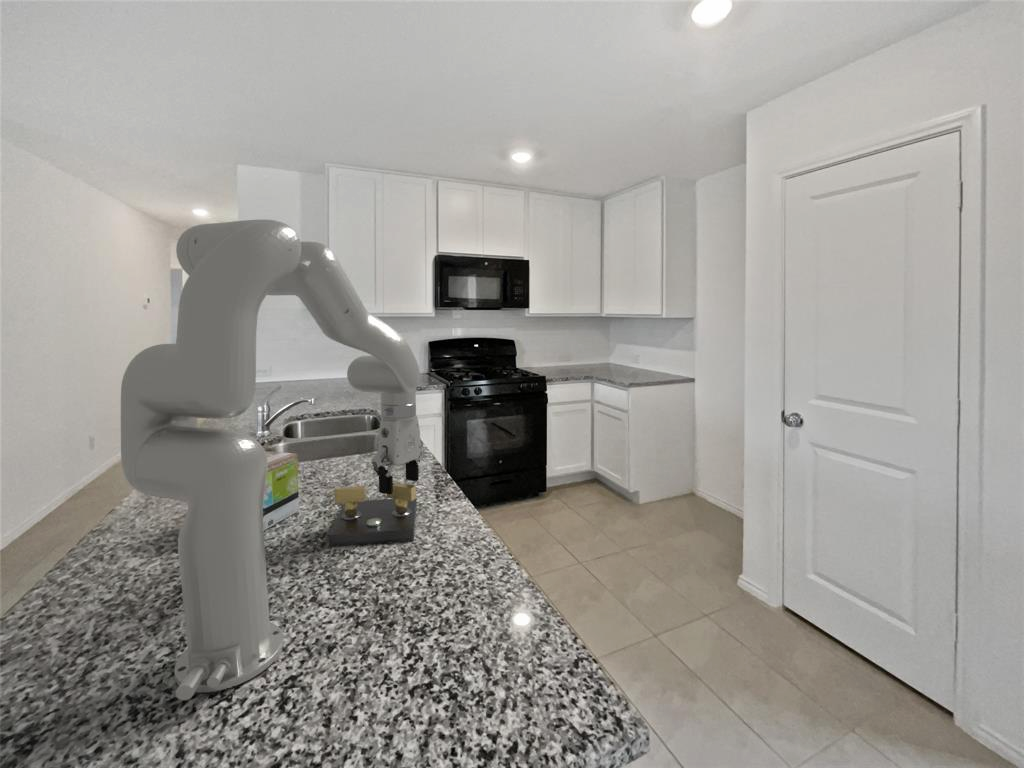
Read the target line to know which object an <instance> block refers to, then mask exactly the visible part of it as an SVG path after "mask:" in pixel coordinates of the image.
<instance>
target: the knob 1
mask: <svg viewBox="0 0 1024 768" xmlns="http://www.w3.org/2000/svg"><path fill="white" fill-rule="evenodd" d="M366 490H367V487H366V485H358V486H357V485H356V486H355V485H354V486H335V488H334V489H333V493H334V494H333V497H334V499H333V500H334V504H344V503H345V515H346V516H354V515H356V514H357V502H365V500H367V491H366Z"/></svg>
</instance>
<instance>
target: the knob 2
mask: <svg viewBox="0 0 1024 768" xmlns="http://www.w3.org/2000/svg"><path fill="white" fill-rule="evenodd" d="M416 489H417V488H416V485H412V484H405V483H398V482H393V493H392V494H390V495H389V494H386V499H395V502H396V512H397V513H404V512H407V501H413V500H414V499H416V497H417V496H416V493H417V490H416Z"/></svg>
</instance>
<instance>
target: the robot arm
mask: <svg viewBox="0 0 1024 768" xmlns="http://www.w3.org/2000/svg"><path fill="white" fill-rule="evenodd" d="M175 248H176V249H175V251H176V252H175V253H176V258H177V260H178V263H179V265H180V267H181V269H182V270H183V271H184V272H185V274H187V276H188V277H187V279H186V281H185V283H184V284H183V286H182V289H181V293H180V297H179V301H178V311H177V312H178V313H177V327H176V339H175V343H160V344H155V345H152V346H149V347H146V348H145V349H143V350H141V351H140V352H138V353H137V354H136V355H135V356H134V357H133V358H132V359H131V360H130V362H129V363H128V365H127V367H126V369H125V371H124V373H123V375H122V376H123V377H122V379H121V380H122V381H121V387H120V459H121V468H122V471H123V475H124V477H125V479H126V481H127V483H128V484H129V485H130V486H131V487H132V488H133V489H134V490H136V491H137V492H139V493H141V494H143V495H147V496H151V497H155V498H162V499H168V500H174V501H179V502H183V503H186V504H187V511H186V515H185V518H184V520H183V522H182V524H181V527H180V529H179V533H178V538H177V552H178V555H177V556H178V562H179V572H180V573H179V575H180V584H181V585H180V586H181V594H182V605H183V615H184V623H185V624H184V625H185V636H186V638H185V639H186V647H187V648H186V649H185V650H184V651H183V652H182V653H181V655H180V656H178V658H177V661H176V662H175V665H174V671H173V672H174V680H175V682H176V684H177V688H176V689H175V697H176V698H177V699H178V700H179V701H188V700H190V699H191V698H192V697H193V696H194V694H195V693H197V694H198V693H200V694H201V693H202V692H203V693H213V692H219V691H224V690H227V688H228V689H231V688H234V687H236V686H238V685H241V684H244V683H245V682H247V681H249V680H251V679H253V678H255V677H256V676H258V675H260V674H261V673H263V672H264V671H266V669H267V668H269V667H270V666H271V665H272V664H273V663H274V662H275V661H276V659H278V657H279V656H280V655H281V652H282V650H283V647H284V643H285V642H284V640H285V639H284V633H283V630H282V629H281V628H280V627H279V626H278V625H276V624H274V623H273V622H270V608H269V606H270V605H269V592H268V591H269V590H268V577H267V576H268V575H267V564H266V563H267V562H266V561H267V560H266V547H265V535H264V531H265V530H264V531H263V498H264V490H265V484H266V478H267V471H268V460H267V455H266V452H265V451H266V450H265V448H264V447H263V445H262V444H261V443H260V442H259V441H258V440H257V439H255V438H254V437H252V436H251V435H248V434H246V433H244V432H240V431H237V430H233V429H225V428H216V427H215V428H214V427H213V428H212V427H202V426H200V427H198V426H197V425H198V419H209V420H211V419H217V420H218V419H221V420H222V419H231V418H235V417H239V416H241V415H243V414H244V413H246V412H247V410H249V409H250V407H251V405H252V404H253V401H254V398H255V393H256V386H257V385H256V384H257V383H256V381H257V379H256V378H257V329H258V328H257V325H258V315H259V312H260V308H261V306H262V303H263V301H264V300H265V298H266V297H267V296H295V297H297V298H299V300H300V301H301V303H302V304H303V306H304V307H305V308H306V310H307V311H308V312H309V314H310V315H311V317H312V318H313V319H314V321H315V322H316V324H317V326H318V327H319V328H320V330H321V332H322V333H323V334H324V335H325V336H326V337H327V338H329V339H331V340H332V341H334V342H336V343H339V344H341V345H344V346H345V347H349V348H352V349H356V350H358V351H362V352H363V353H366V354H368V355H363V356H362V355H361V356H359V357H357V358H355V359H354V360H352V362H350V364H348V368H347V369H346V370H347V371H346V377H347V380H348V383H349V384H350V386H351V387H352V388H354V389H355V390H356V391H358V392H364V393H375V394H377V393H378V394H380V421H379V429H378V430H379V431H378V440H377V441H378V445H377V447H378V449H377V450H378V451H377V452H376V453H375V455H374V456H373V457H372V458H371V464H372V466H373V470H374V472H376V476H378V492H379V493H380V494H384V495H387V494H389V495H390V494H392V493H393V483H394V479H393V475H391V474H392V472H393V470H394V467H400V466H403V465H405V479H406V481H413V482H417V481H419V480H420V479H419V478H420V477H419V473H420V472H419V469H420V468H419V464H420V462H421V459H420V458H421V456H422V450H423V445H424V442H423V441H421V431H420V423H419V418H418V415H417V408H416V407H417V401H416V400H417V399H416V398H417V397H416V396H417V393H416V390H417V387H418V386H419V383H420V377H421V372H420V368H419V367H420V366H419V363H418V360H417V359H416V356H415V354H414V352H413V350H412V348H411V346H410V345H409V342H408V341H407V340H406V339H405V337H403V336H402V335H401V334H400V333H399V332H398V331H397V330H395V329H394V328H393V327H391V326H390V325H389V324H387V323H386V322H385V321H383V320H382V319H380V317H378V316H376V315H374V314H373V313H371V312H370V311H368V310H367V308H366V307H365V305H364V304H363V301H362V299H361V298H360V296H359V294H358V293H357V291H356V289H355V288H354V285H353V284H352V282H351V281H350V279H349V276H348V275H347V273H346V271H345V270H344V268H343V266H342V265H341V262H340V261H339V259H338V258H337V256H336V254H335V253H334V251H332V249H331V248H330V247H329V246H327V245H325V244H323V243H320V242H316V241H301V239H300V237H299V234H298V233H297V232H296V231H295V230H294V229H293V228H292V227H291V226H290V225H288V224H286V223H284V222H282V221H278V220H274V219H245V220H235V221H228V222H227V221H226V222H213V223H204V224H203V223H202V224H198V225H195V226H191V227H190V228H187V229H186V230H184V232H182V233H181V234H180V235H179V238H178V239H177V243H176V247H175ZM386 466H387V468H386ZM233 686H234V687H233Z"/></svg>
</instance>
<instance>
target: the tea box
mask: <svg viewBox="0 0 1024 768" xmlns="http://www.w3.org/2000/svg"><path fill="white" fill-rule="evenodd" d="M265 452H266V455H267V460H268V471H267V478H266V484H265V490H264V498H263V531H266V530H268V529H269V528H271V527H273V526H274V525H276V524H278V523H280V522H282V521H284V520H286V519H287V518H288V517H291V516H293V515H294V514H297V513H298V512H299V511H300V500H299V499H300V498H299V494H300V493H299V492H300V491H299V472H298V471H299V470H298V467H299V466H298V465H299V464H298V463H299V461H298V454H297V453H291V452H280V451H279V452H278V451H270V450H269V451H267V450H265Z"/></svg>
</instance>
